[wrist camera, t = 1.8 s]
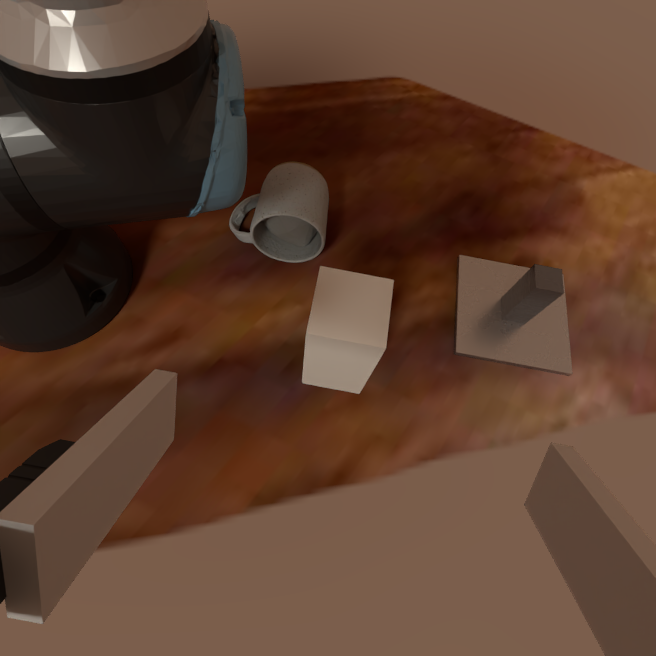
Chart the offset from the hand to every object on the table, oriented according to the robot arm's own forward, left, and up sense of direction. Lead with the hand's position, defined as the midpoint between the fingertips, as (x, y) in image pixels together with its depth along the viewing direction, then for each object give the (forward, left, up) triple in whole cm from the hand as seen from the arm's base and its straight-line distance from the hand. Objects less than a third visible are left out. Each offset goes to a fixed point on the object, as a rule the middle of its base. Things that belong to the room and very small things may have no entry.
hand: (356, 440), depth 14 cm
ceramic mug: (-26, +5, -23) cm, 35 cm away
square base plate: (-9, +25, -23) cm, 35 cm away
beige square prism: (-10, +5, -23) cm, 26 cm away
